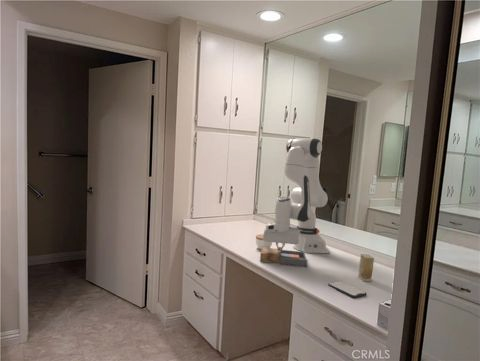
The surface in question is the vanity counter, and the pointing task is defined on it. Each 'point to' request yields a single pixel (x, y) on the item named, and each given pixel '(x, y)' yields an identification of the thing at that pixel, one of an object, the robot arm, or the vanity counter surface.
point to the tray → (294, 262)
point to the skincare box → (366, 267)
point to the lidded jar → (262, 242)
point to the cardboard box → (270, 255)
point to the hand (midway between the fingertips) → (279, 250)
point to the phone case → (347, 289)
